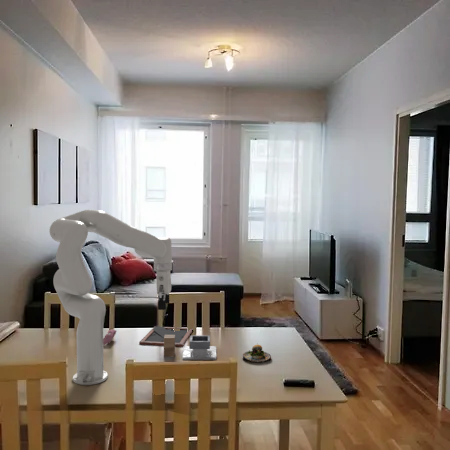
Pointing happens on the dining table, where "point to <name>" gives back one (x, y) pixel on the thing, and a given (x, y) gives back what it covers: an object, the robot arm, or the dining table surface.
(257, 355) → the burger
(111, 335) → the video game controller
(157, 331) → the picture frame
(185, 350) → the cup bracket
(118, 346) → the dining table surface
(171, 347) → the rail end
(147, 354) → the dining table surface
